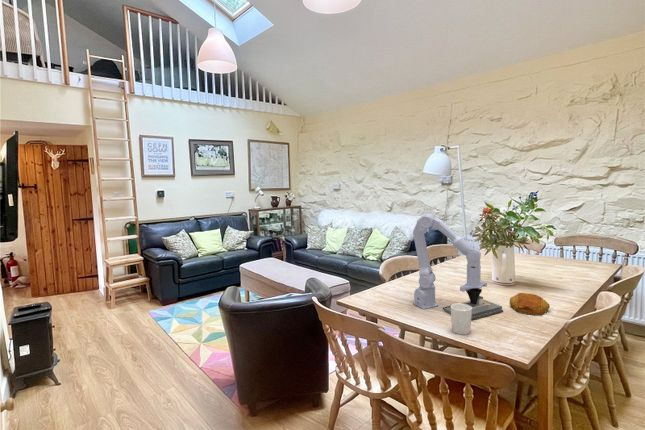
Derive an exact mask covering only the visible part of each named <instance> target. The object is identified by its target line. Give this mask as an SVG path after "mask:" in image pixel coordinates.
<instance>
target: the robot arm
mask: <svg viewBox="0 0 645 430" xmlns="http://www.w3.org/2000/svg"><path fill="white" fill-rule="evenodd" d="M415 223H416V224H415V226H414V229H413V231H412V235H413V241H414V244H415V251H416V256H417V260H418V266H419V272H418V274H419V275H418V276H419V278H418V284H419V287H418V288H416V289H414V297H413V298H414V299H413V300H414V301H413V305H415V306H417V307H419V308H421V309H423V310H427V309H429V308H434V307H439V306H440V303H437V302H436V285H435V281H436V278H437V277H436V275H435V273H434V272H433V269H432V266H431V263H430V257H429V254H428V253H429V252H428V247H427V246H428V245H427V242H426V236H425V233H426V232H427V231H428V230H429V229H431V230H437V231H439V232H441V234H442V235H444V236H446V238H448V239H449V240H450V241H451V242H452V247H454V248H455V249H456V250H458V251H459V253H461V254H462V255H464V256H465V259H466V261H467V262H466V263H467V264H466V283H465V284H462V285H461V286H459V291H460V292H463V293H465V292H466V293H467V295H468V298H469V301H470V302H471V304H473V305H476V304H477V300H478V297H479V296H481V295H480V294H481V293H482V292H483V289H482V288H483V287H484V288H485V287H486V288H487V286H488V282H486V281H481V276H482V275H481V274H482V273H481V270H482V269H481V268H482V267H481V255H482V253H481V251H480V250H479V248H478V247H476V245H474V244H472V243H470V242H469V241H468V238H466V237H464V236H461V235H457V234H456V233H455V232H454V231H453V230H452V229H450V227H449V226H447V224H445V223H444V222H443V221H442V220H441V219H440V218H439V217H437V216H435V214H434V213H431V212H427V213H425V214H424V215H422V216H421V215H420V217H419V219H418V220H416V222H415Z"/></svg>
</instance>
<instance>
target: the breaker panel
mask: <svg viewBox="0 0 645 430" xmlns="http://www.w3.org/2000/svg"><path fill="white" fill-rule="evenodd" d="M460 304H466V305H469V306H471V307H472V317H471V318H473V317H477V316H480V315H484V314H488V313H491V312H495V311H499V310H503V305H500V304H497V303H494V302H492V301H488V300H486V299H483V305H479V306H474V305H473V304H471V302H470V300H468V301H464V303H463V302H460ZM443 312H444V313H446V314H448V315H450V316H451V307H448V308H444V310H443Z"/></svg>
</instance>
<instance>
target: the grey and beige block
mask: <svg viewBox="0 0 645 430" xmlns="http://www.w3.org/2000/svg"><path fill="white" fill-rule="evenodd" d="M483 300H484V296H481V295H479V297H478V300H477V304H476V305H474V306H479V305H483Z"/></svg>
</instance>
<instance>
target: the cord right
mask: <svg viewBox="0 0 645 430" xmlns="http://www.w3.org/2000/svg"><path fill="white" fill-rule="evenodd" d="M503 312H504V309H502V310H498V311H494V312H491V313H487V314H483V315H480V316H476V317H472V318H471V322H472V321H475V320H479V319H481V318H485V317H489V316H492V315H495V314H496V315H497V314H500V313H503Z"/></svg>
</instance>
